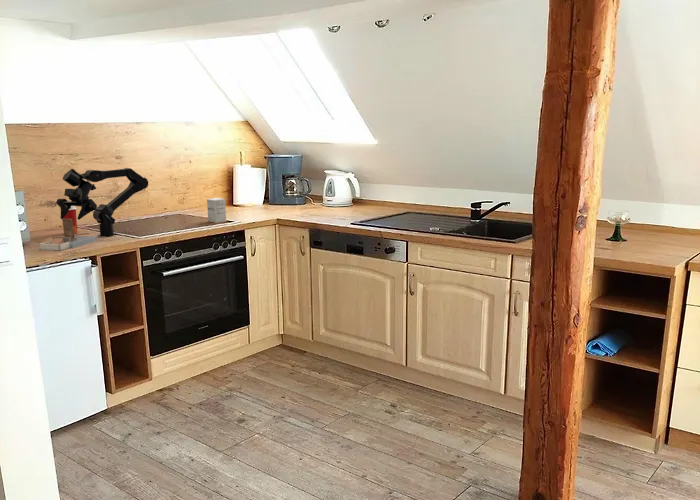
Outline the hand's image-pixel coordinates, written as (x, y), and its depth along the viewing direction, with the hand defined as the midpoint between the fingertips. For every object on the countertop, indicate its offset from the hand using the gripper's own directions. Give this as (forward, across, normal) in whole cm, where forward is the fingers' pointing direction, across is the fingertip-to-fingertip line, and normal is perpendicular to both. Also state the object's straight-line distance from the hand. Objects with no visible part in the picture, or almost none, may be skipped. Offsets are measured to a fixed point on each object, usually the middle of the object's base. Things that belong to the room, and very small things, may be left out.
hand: (69, 218), depth 288 cm
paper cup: (-8, -19, +25) cm, 32 cm away
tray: (+17, 0, 0) cm, 17 cm away
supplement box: (-38, +42, +56) cm, 79 cm away
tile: (+14, 0, +1) cm, 14 cm away
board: (+8, 0, +8) cm, 12 cm away
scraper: (+9, 0, +5) cm, 10 cm away
